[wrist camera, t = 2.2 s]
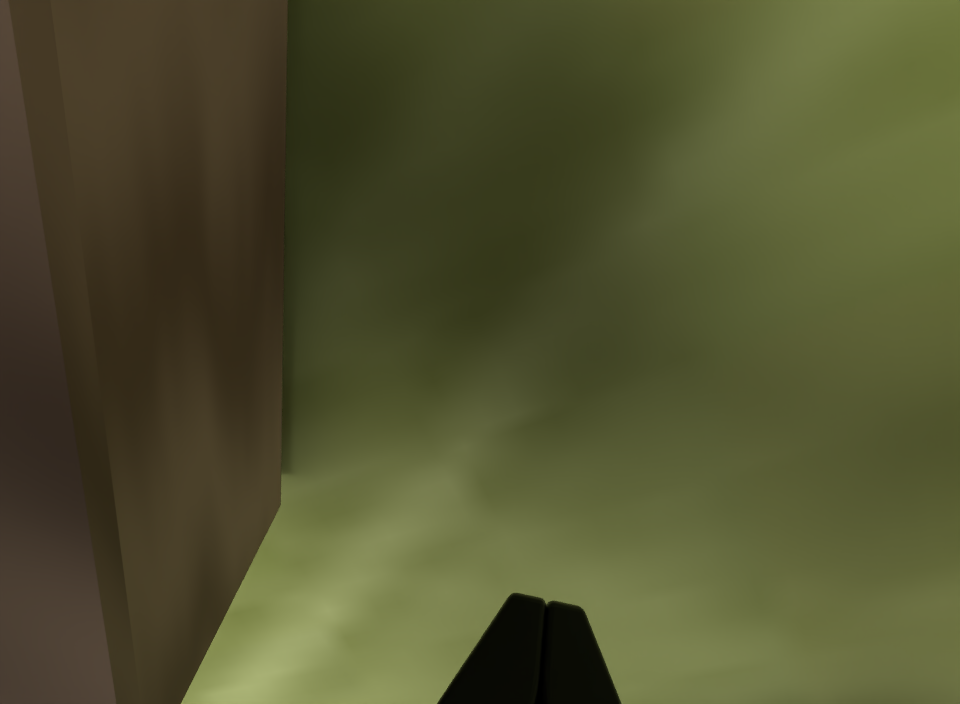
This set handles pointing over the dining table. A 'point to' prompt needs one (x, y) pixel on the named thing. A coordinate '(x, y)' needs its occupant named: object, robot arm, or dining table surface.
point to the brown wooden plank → (136, 335)
